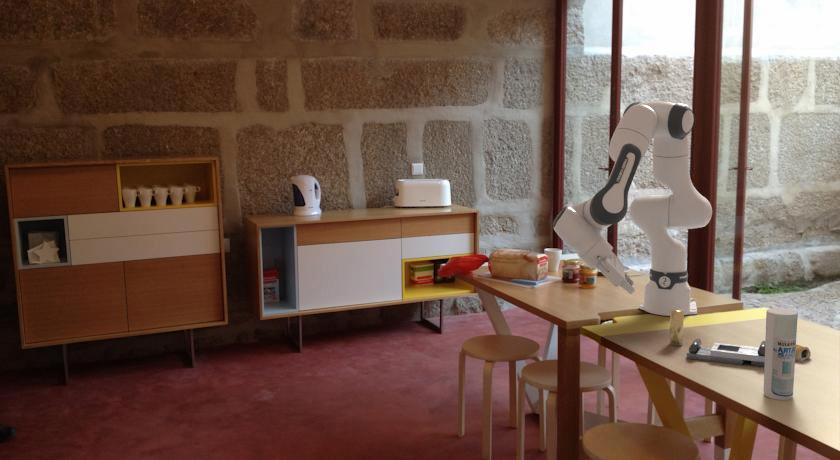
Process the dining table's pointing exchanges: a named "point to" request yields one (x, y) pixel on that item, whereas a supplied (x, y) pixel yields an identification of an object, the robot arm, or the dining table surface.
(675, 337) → the gold rounded cylinder
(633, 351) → the dining table surface
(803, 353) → the pastry
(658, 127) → the robot arm
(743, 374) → the dining table surface
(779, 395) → the spray can
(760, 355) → the grey roller block
